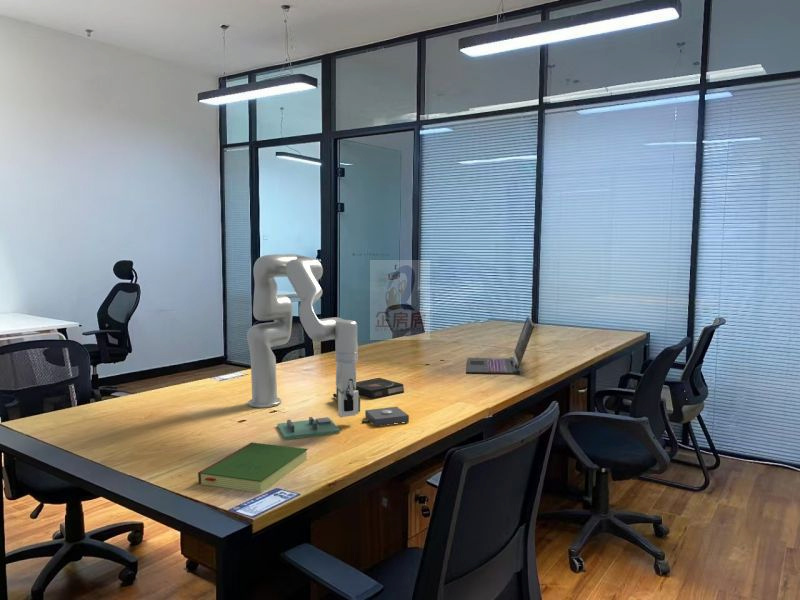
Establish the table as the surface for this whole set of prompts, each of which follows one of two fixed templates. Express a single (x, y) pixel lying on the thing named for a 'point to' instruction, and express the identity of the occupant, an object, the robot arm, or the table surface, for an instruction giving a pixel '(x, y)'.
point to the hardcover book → (253, 467)
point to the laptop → (503, 363)
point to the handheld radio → (337, 398)
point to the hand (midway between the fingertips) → (346, 408)
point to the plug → (341, 404)
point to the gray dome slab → (386, 416)
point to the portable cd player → (378, 388)
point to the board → (307, 428)
